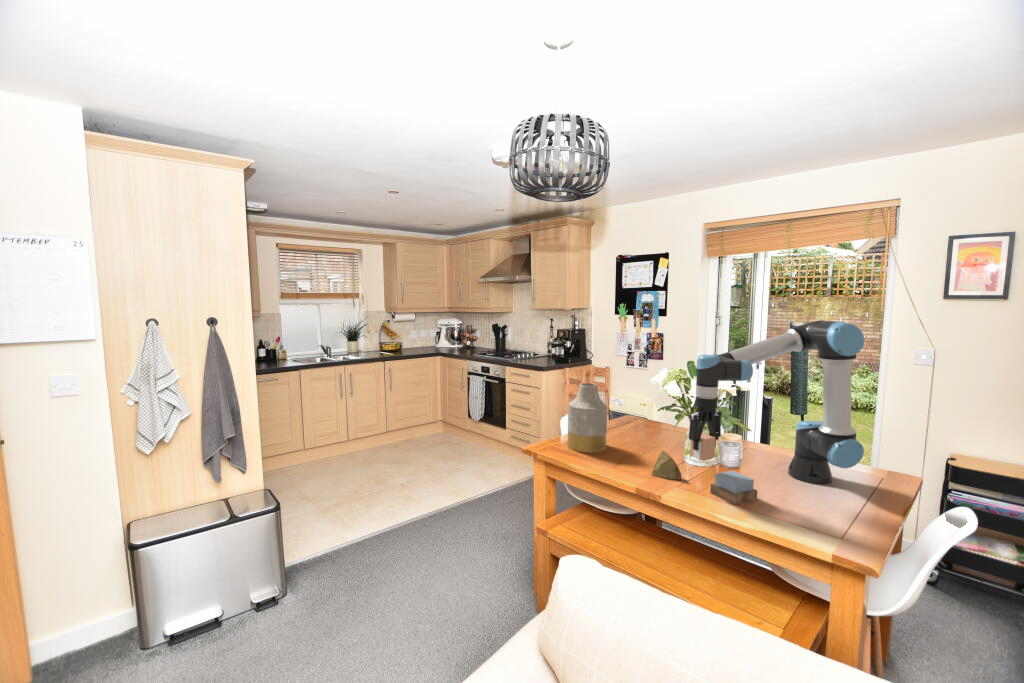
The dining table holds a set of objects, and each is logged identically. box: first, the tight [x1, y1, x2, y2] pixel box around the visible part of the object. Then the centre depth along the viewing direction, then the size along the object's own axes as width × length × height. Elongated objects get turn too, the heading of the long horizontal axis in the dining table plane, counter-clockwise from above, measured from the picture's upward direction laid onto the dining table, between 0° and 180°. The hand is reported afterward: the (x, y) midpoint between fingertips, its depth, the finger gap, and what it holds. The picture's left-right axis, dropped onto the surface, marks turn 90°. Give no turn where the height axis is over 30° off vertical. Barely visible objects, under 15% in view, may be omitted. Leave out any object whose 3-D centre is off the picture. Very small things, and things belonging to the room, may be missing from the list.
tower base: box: [709, 482, 758, 506], centre depth 171 cm, size 11×11×4 cm
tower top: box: [714, 470, 755, 494], centre depth 171 cm, size 9×9×4 cm
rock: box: [650, 450, 682, 480], centre depth 188 cm, size 11×9×10 cm
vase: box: [567, 382, 608, 454], centre depth 223 cm, size 18×18×30 cm
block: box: [689, 432, 716, 462], centre depth 175 cm, size 6×6×8 cm
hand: (704, 456), depth 175 cm, fingers closed on block, 6 cm apart
